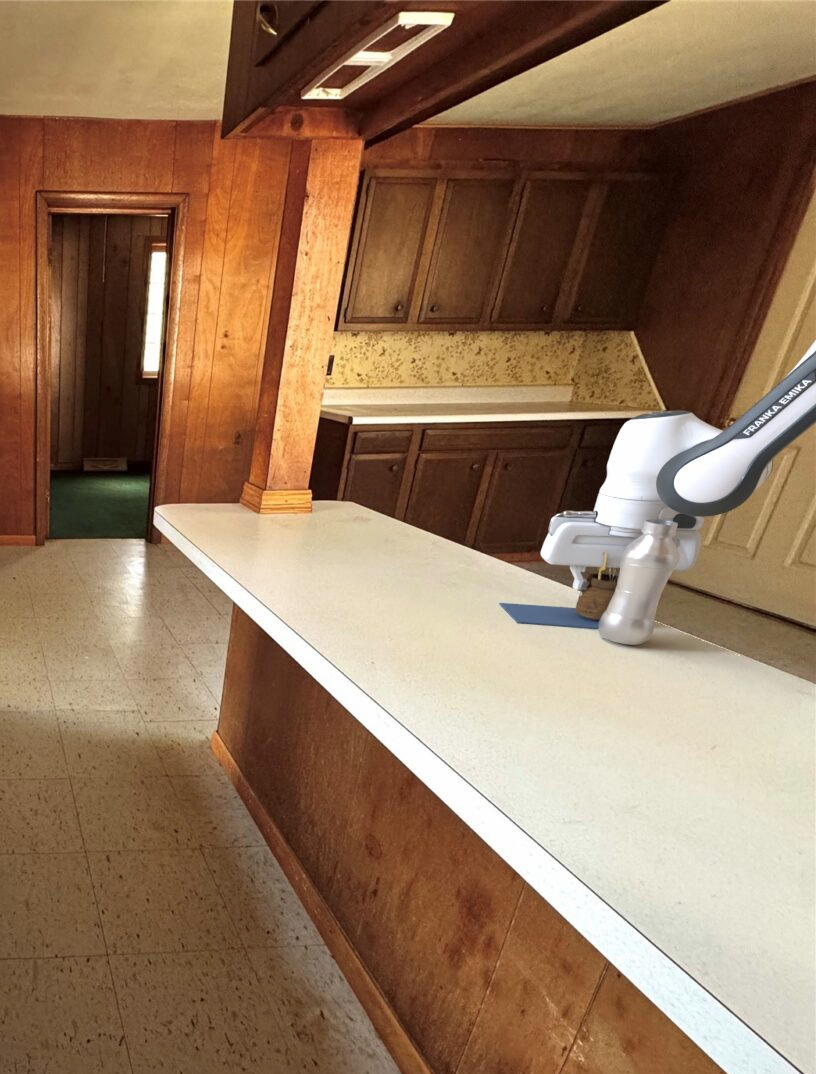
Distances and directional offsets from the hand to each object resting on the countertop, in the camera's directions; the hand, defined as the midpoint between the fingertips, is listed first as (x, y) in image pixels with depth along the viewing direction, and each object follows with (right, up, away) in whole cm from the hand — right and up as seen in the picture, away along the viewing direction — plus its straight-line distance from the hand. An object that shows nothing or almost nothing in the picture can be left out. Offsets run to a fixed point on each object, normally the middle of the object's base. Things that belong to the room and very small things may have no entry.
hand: (604, 590), depth 113 cm
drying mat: (-5, -5, +4) cm, 7 cm away
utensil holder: (0, -4, +2) cm, 5 cm away
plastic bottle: (-3, -8, -6) cm, 11 cm away
